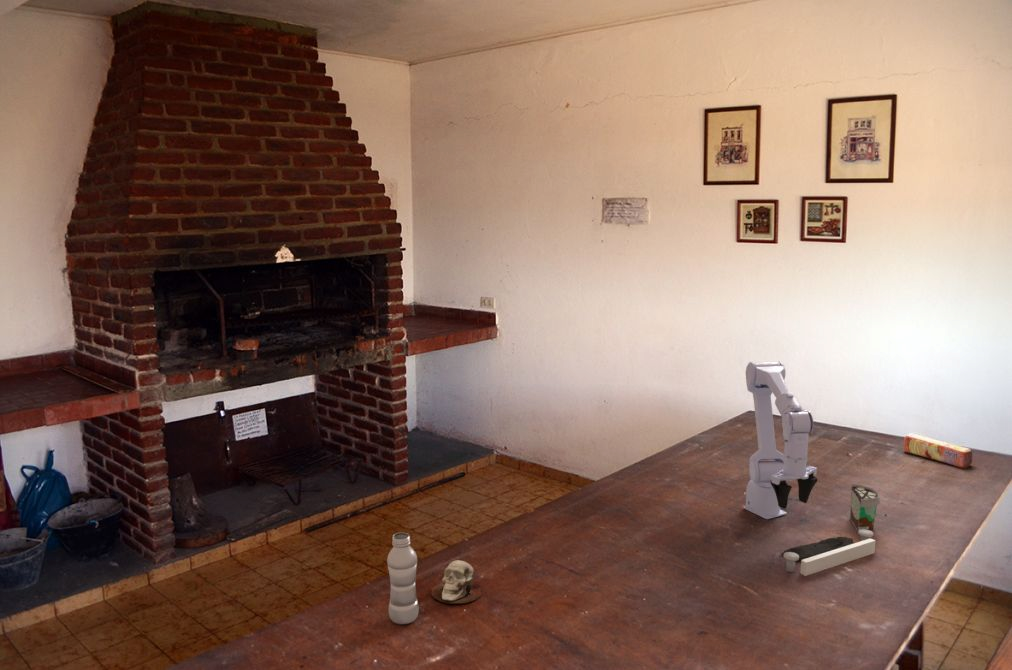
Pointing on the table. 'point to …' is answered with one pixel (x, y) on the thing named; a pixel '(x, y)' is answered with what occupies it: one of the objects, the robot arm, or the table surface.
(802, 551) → the wood
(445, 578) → the skull
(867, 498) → the food container
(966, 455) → the snack package
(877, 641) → the table surface
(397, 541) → the plastic bottle
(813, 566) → the cream long bar
